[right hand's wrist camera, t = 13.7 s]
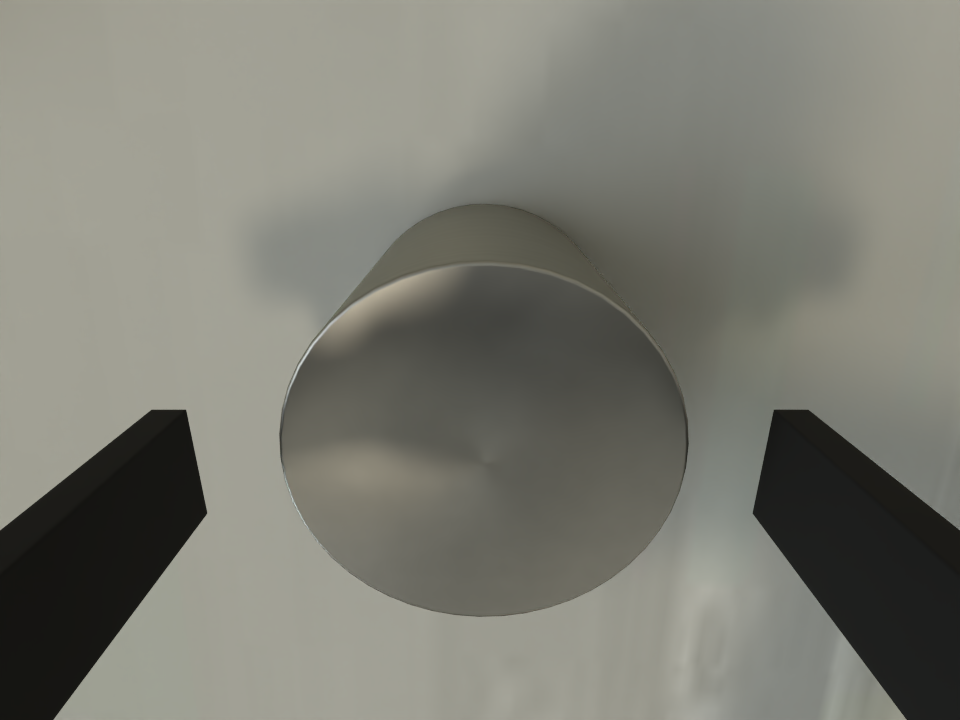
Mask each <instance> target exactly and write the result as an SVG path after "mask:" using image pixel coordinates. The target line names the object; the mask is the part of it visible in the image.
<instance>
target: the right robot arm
mask: <svg viewBox="0 0 960 720" xmlns="http://www.w3.org/2000/svg"><path fill="white" fill-rule="evenodd" d="M206 514H207V510H206V505H205V500H204V495H203V490H202V485H201V480H200V476H199V471H198V466H197V461H196V456H195V451H194V446H193V441H192V437H191V432H190V427H189V422H188V417H187V412H186V410H151V411H150V412H148V413H147V414H146V415H145V416H143V417H142V418H141V419H140V420H138V421H137V422H136V423H135V424H133V425H132V426H131V427H130V428H128V429H127V430H126V431H125V432H123V433H122V434H121V435H119V436H118V437H117V438H116V439H114V440H113V441H112V442H111V443H109V444H108V445H107V446H106V447H104V448H103V449H102V450H101V451H99V452H98V453H97V454H96V455H94V456H93V457H92V458H91V459H89V460H88V461H87V462H86V463H84V464H83V465H82V466H81V467H79V468H78V469H77V470H76V471H74V472H73V473H72V474H71V475H69V476H68V477H67V478H66V479H64V480H63V481H62V482H61V483H59V484H58V485H57V486H56V487H54V488H53V489H52V490H50V491H49V492H48V493H47V494H45V495H44V496H43V497H42V498H40V499H39V500H38V501H37V502H35V503H34V504H33V505H32V506H30V507H29V508H28V509H27V510H25V511H24V512H23V513H22V514H20V515H19V516H18V517H17V518H15V519H14V520H13V521H12V522H10V523H9V524H8V525H7V526H5V527H4V528H3V529H2V530H0V720H53V719H54V718H55V717H56V715H57V714H58V713H59V711H60V710H61V709H62V707H63V706H64V705H65V703H66V702H67V701H68V699H69V698H70V697H71V695H72V694H73V693H74V691H75V690H76V689H77V687H78V686H79V685H80V683H81V682H82V681H83V679H84V678H85V677H86V675H87V674H88V672H89V671H90V670H91V668H92V667H93V666H94V664H95V663H96V662H97V660H98V659H99V658H100V656H101V655H102V654H103V652H104V651H105V650H106V648H107V647H108V646H109V644H110V643H111V642H112V640H113V639H114V638H115V636H116V635H117V634H118V632H119V631H120V630H121V628H122V627H123V626H124V624H125V623H126V622H127V620H128V619H129V618H130V616H131V615H132V614H133V612H134V611H135V610H136V608H137V607H138V606H139V604H140V603H141V602H142V600H143V599H144V597H145V596H146V595H147V593H148V592H149V591H150V589H151V588H152V587H153V585H154V584H155V583H156V581H157V580H158V579H159V577H160V576H161V575H162V573H163V572H164V571H165V569H166V568H167V567H168V565H169V564H170V563H171V561H172V560H173V559H174V557H175V556H176V555H177V553H178V552H179V551H180V549H181V548H182V547H183V545H184V544H185V543H186V541H187V540H188V539H189V537H190V536H191V535H192V533H193V532H194V531H195V529H196V528H197V527H198V525H199V524H200V522H201V521H202V520H203V518H204V517H205V516H206ZM753 514H754V516H755V517H756V518H757V520H758V521H759V522H760V524H761V525H762V527H763V528H764V529H765V531H766V532H767V533H768V535H769V536H770V537H771V539H772V540H773V541H774V543H775V544H776V545H777V547H778V548H779V549H780V551H781V552H782V553H783V555H784V556H785V557H786V559H787V560H788V561H789V563H790V564H791V565H792V567H793V568H794V569H795V571H796V572H797V573H798V575H799V576H800V577H801V579H802V580H803V581H804V583H805V584H806V585H807V587H808V588H809V589H810V591H811V592H812V593H813V595H814V596H815V597H816V599H817V600H818V602H819V603H820V604H821V606H822V607H823V608H824V610H825V611H826V612H827V614H828V615H829V616H830V618H831V619H832V620H833V622H834V623H835V624H836V626H837V627H838V628H839V630H840V631H841V632H842V634H843V635H844V636H845V638H846V639H847V640H848V642H849V643H850V644H851V646H852V647H853V648H854V650H855V651H856V652H857V654H858V655H859V656H860V658H861V659H862V660H863V662H864V663H865V664H866V666H867V667H868V668H869V670H870V671H871V672H872V674H873V675H874V677H875V678H876V679H877V681H878V682H879V683H880V685H881V686H882V687H883V689H884V690H885V691H886V693H887V694H888V695H889V697H890V698H891V699H892V701H893V702H894V703H895V705H896V706H897V707H898V709H899V710H900V711H901V713H902V714H903V715H904V717H905V718H906V719H907V720H960V530H958V529H957V528H956V527H955V526H953V525H952V524H951V523H950V522H948V521H947V520H946V519H945V518H943V517H942V516H941V515H940V514H938V513H937V512H936V511H935V510H933V509H932V508H931V507H930V506H928V505H927V504H926V503H925V502H923V501H922V500H921V499H920V498H918V497H917V496H916V495H915V494H913V493H912V492H911V491H910V490H908V489H907V488H906V487H904V486H903V485H902V484H901V483H899V482H898V481H897V480H896V479H894V478H893V477H892V476H891V475H889V474H888V473H887V472H886V471H884V470H883V469H882V468H881V467H879V466H878V465H877V464H876V463H874V462H873V461H872V460H871V459H869V458H868V457H867V456H866V455H864V454H863V453H862V452H861V451H859V450H858V449H857V448H856V447H854V446H853V445H852V444H851V443H849V442H848V441H847V440H846V439H844V438H843V437H842V436H841V435H839V434H838V433H837V432H835V431H834V430H833V429H832V428H830V427H829V426H828V425H827V424H825V423H824V422H823V421H822V420H820V419H819V418H818V417H817V416H815V415H814V414H813V413H812V412H810V411H809V410H774V412H773V417H772V422H771V427H770V432H769V437H768V441H767V446H766V451H765V456H764V461H763V466H762V471H761V476H760V480H759V485H758V490H757V495H756V500H755V505H754V510H753Z"/></svg>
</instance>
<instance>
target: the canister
mask: <svg viewBox="0 0 960 720" xmlns="http://www.w3.org/2000/svg"><path fill="white" fill-rule="evenodd" d="M279 436H280V456H281V462H282V467H283V472H284V477H285V481H286V484H287V487H288V490H289V493H290V495H291V498H292V501H293V503H294V505H295V507H296V509H297V511H298V513H299V515H300V517H301V519H302V521H303V522H304V524H305V525H306V527H307V528H308V530H309V531H310V532H311V534H312V535H313V537H314V538H315V539H316V541H317V542H318V543H319V544H320V545H321V546H322V547H323V549H324V550H325V551H326V552H327V553H328V554H329V555H330V556H331V557H332V558H333V559H334V560H335V561H336V562H337V563H339V564H340V565H341V566H342V567H343V568H344V569H346V570H347V571H348V572H349V573H351V574H352V575H354V576H355V577H357V578H358V579H359V580H361V581H362V582H364V583H365V584H367V585H368V586H370V587H372V588H374V589H376V590H378V591H380V592H382V593H384V594H386V595H387V596H390V597H392V598H395V599H397V600H400V601H402V602H405V603H407V604H410V605H413V606H417V607H420V608H424V609H428V610H431V611H436V612H442V613H447V614H453V615H464V616H478V617H482V616H506V615H514V614H522V613H528V612H532V611H536V610H541V609H545V608H549V607H552V606H555V605H558V604H561V603H563V602H566V601H569V600H572V599H574V598H576V597H578V596H580V595H582V594H585V593H587V592H589V591H591V590H593V589H594V588H596V587H598V586H599V585H601V584H603V583H604V582H606V581H608V580H609V579H611V578H612V577H613V576H615V575H616V574H617V573H619V572H620V571H621V570H622V569H624V568H625V567H626V566H628V565H629V564H630V563H631V562H632V561H633V560H634V559H635V558H636V557H637V556H638V555H639V554H640V553H641V552H642V551H643V550H644V549H645V548H646V547H647V546H648V544H649V543H650V542H651V541H652V539H653V538H654V537H655V535H656V534H657V533H658V532H659V530H660V529H661V527H662V525H663V524H664V522H665V520H666V519H667V517H668V515H669V514H670V512H671V510H672V508H673V505H674V503H675V501H676V498H677V496H678V493H679V491H680V488H681V484H682V480H683V477H684V473H685V469H686V462H687V453H688V444H689V441H688V419H687V414H686V409H685V404H684V399H683V395H682V392H681V389H680V386H679V384H678V381H677V378H676V375H675V373H674V371H673V369H672V367H671V365H670V364H669V362H668V360H667V358H666V356H665V354H664V353H663V351H662V349H661V348H660V347H659V345H658V344H657V343H656V341H655V340H654V339H653V338H652V336H651V335H650V334H649V332H648V331H647V330H646V328H645V327H644V326H643V325H642V324H641V323H640V321H639V320H638V319H637V318H636V317H635V315H634V314H633V313H632V312H631V311H630V309H629V308H628V307H627V306H626V305H625V303H624V302H623V301H622V300H621V299H620V297H619V296H618V295H617V294H616V293H615V292H614V290H613V289H612V288H611V287H610V286H609V284H608V283H607V282H606V281H605V280H604V278H603V277H602V276H601V275H600V274H599V272H598V271H597V270H596V269H595V268H594V266H593V265H592V264H591V263H590V262H589V261H588V259H587V258H586V257H585V256H584V255H583V253H582V252H581V251H580V250H579V249H578V247H577V246H576V245H575V244H574V243H573V242H572V241H571V240H570V239H569V238H568V237H567V236H566V235H565V234H564V233H563V232H561V231H560V230H559V229H557V228H556V227H555V226H553V225H552V224H550V223H549V222H547V221H545V220H543V219H541V218H540V217H538V216H536V215H533V214H531V213H528V212H525V211H523V210H520V209H516V208H512V207H507V206H502V205H491V204H478V205H466V206H461V207H455V208H451V209H448V210H445V211H442V212H439V213H436V214H434V215H432V216H430V217H428V218H426V219H424V220H422V221H420V222H419V223H417V224H416V225H414V226H413V227H411V228H410V229H408V230H407V231H406V232H405V233H404V234H403V235H401V236H400V237H399V238H398V239H397V240H396V241H395V242H394V243H393V245H392V246H391V247H390V248H389V249H388V250H387V252H386V253H385V254H384V255H383V256H382V258H381V259H380V260H379V261H378V262H377V264H376V265H375V266H374V267H373V268H372V270H371V271H370V272H369V273H368V274H367V276H366V277H365V278H364V279H363V280H362V282H361V283H360V284H359V285H358V286H357V288H356V289H355V290H354V291H353V292H352V294H351V295H350V296H349V297H348V298H347V300H346V301H345V302H344V303H343V305H342V306H341V307H340V308H339V309H338V311H337V312H336V313H335V314H334V315H333V317H332V318H331V319H330V320H329V321H328V323H327V324H326V325H325V326H324V327H323V329H322V330H321V331H320V332H319V333H318V335H317V336H316V337H315V338H314V339H313V341H312V342H311V344H310V345H309V347H308V348H307V350H306V352H305V353H304V355H303V356H302V358H301V359H300V361H299V363H298V365H297V367H296V369H295V371H294V374H293V376H292V378H291V381H290V383H289V385H288V388H287V392H286V396H285V400H284V404H283V407H282V413H281V423H280V433H279Z"/></svg>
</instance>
